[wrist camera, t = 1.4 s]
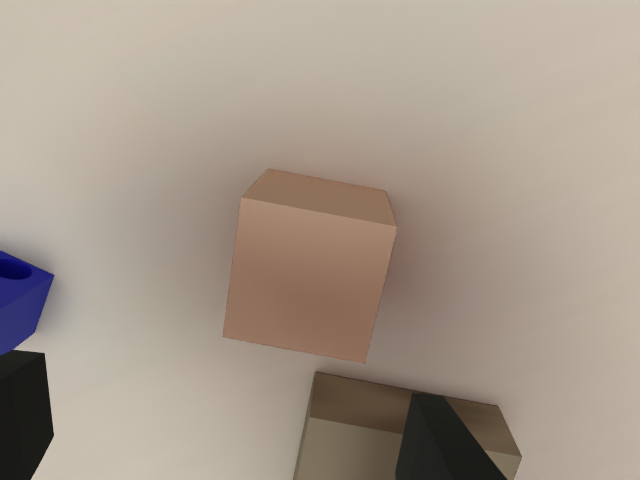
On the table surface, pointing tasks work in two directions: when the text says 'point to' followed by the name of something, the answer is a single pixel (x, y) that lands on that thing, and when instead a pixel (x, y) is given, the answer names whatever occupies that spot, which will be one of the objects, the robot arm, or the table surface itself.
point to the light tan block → (309, 265)
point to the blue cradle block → (20, 300)
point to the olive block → (381, 431)
